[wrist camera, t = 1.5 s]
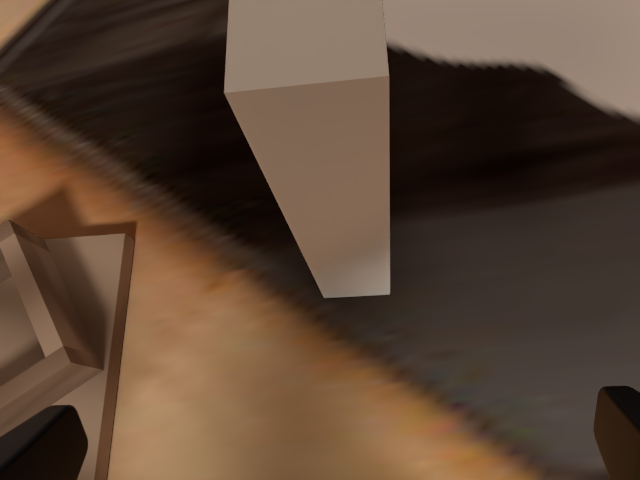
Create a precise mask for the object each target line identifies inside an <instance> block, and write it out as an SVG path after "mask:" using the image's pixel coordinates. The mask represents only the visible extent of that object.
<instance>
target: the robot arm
mask: <svg viewBox="0 0 640 480" xmlns="http://www.w3.org/2000/svg"><path fill="white" fill-rule="evenodd" d="M594 435H595V439H596V442H597V445H598V448H599V450H600V453H601V456H602V459H603V461H604V464H605V467H606V470H607V472H608V475H609V478H610V480H640V392H638V391H636V390H635V389H633V388H631V387H629V386H605V387H603V388H601V389H600V391H599V393H598V399H597V406H596V413H595V420H594ZM87 450H88V438H87V435H86V432H85V430H84V427H83V425H82V422H81V419H80V417H79V414H78V412H77V410H76V408H75V407H74V406H72V405H52V406H48V407H46V408H45V409H43V410H42V411H40V412H38V413H37V414H35V415H34V416H32V417H31V418H29V419H27V420H26V421H24V422H23V423H21V424H20V425H18V426H16V427H15V428H13V429H12V430H10V431H8V432H7V433H5V434H4V435H2V436H1V437H0V480H77V479H78V476H79V473H80V471H81V468H82V465H83V462H84V460H85V457H86V454H87Z"/></svg>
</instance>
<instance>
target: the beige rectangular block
mask: <svg viewBox="0 0 640 480" xmlns="http://www.w3.org/2000/svg"><path fill="white" fill-rule="evenodd" d="M224 94H225V96H226V98H227V100H228V102H229V104H230V106H231V108H232V110H233V112H234V114H235V116H236V118H237V121H238V123H239V125H240V127H241V129H242V131H243V133H244V135H245V137H246V139H247V141H248V143H249V145H250V147H251V149H252V151H253V153H254V155H255V157H256V160H257V162H258V164H259V166H260V168H261V170H262V172H263V174H264V176H265V178H266V180H267V182H268V184H269V186H270V188H271V190H272V192H273V194H274V196H275V199H276V201H277V203H278V205H279V207H280V209H281V211H282V213H283V215H284V217H285V219H286V221H287V223H288V225H289V227H290V229H291V231H292V233H293V235H294V238H295V240H296V242H297V244H298V246H299V248H300V250H301V252H302V254H303V256H304V258H305V260H306V262H307V264H308V266H309V268H310V270H311V272H312V274H313V277H314V279H315V281H316V283H317V285H318V287H319V289H320V291H321V293H322V295H323V297H324V298H336V297H354V296H372V295H390V161H389V69H388V58H387V46H386V35H385V24H384V13H383V1H382V0H229V13H228V31H227V49H226V67H225V85H224Z"/></svg>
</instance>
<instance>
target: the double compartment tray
mask: <svg viewBox="0 0 640 480" xmlns="http://www.w3.org/2000/svg"><path fill="white" fill-rule="evenodd" d="M134 243H135V240H133V239H132V238H131V237H129V236H128V235H127V234H125V233H123V234H109V235H96V236H82V237H69V238H55V239H42V238H40V237H38V236H36V235H35V234H33V233H31V232H29V231H28V230H26V229H24V228H22V227H20V226H19V225H17V224H15V223H13V222H12V221H10V220H8V221H6V222H5V223H3V224H2V225H0V437H1V436H2V435H4V434H5V433H7V432H8V431H10V430H12V429H13V428H15V427H16V426H18V425H20V424H21V423H23V422H24V421H26V420H27V419H29V418H31V417H32V416H34V415H35V414H37V413H38V412H40V411H42V410H43V409H45V408H46V407H48V406H52V405H72V406H74V407H75V408H76V410H77V412H78V414H79V417H80V419H81V422H82V425H83V427H84V430H85V432H86V435H87V438H88V450H87V454H86V457H85V460H84V462H83V465H82V468H81V471H80V473H79V476H78V479H77V480H107V473H108V464H109V456H110V447H111V439H112V430H113V422H114V413H115V405H116V396H117V388H118V379H119V371H120V362H121V354H122V345H123V336H124V328H125V319H126V311H127V302H128V294H129V285H130V277H131V268H132V260H133V251H134Z"/></svg>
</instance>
